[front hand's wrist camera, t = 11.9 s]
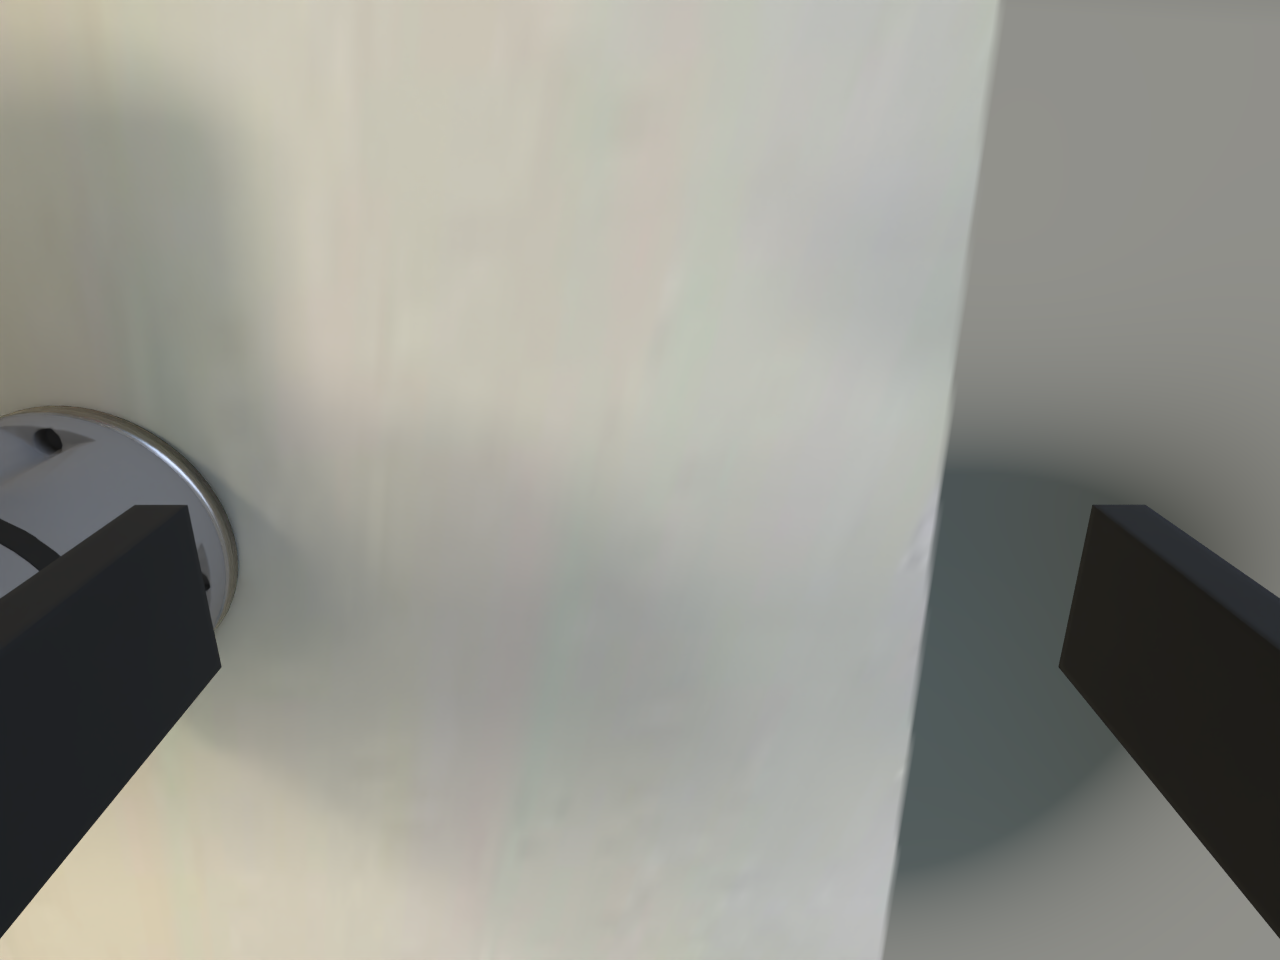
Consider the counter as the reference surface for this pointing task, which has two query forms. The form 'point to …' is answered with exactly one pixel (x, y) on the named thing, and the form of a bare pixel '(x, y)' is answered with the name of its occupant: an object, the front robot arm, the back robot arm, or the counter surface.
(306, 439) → the counter surface
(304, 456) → the counter surface
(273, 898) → the counter surface
